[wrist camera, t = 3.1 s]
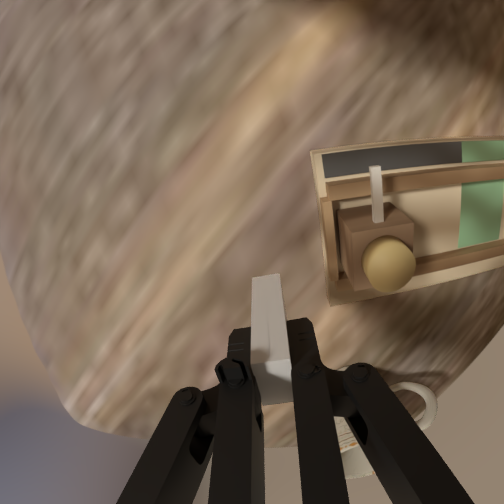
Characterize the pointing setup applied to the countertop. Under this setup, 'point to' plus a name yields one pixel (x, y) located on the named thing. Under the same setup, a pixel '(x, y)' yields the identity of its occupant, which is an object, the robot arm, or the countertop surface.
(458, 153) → the tuner board
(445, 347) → the countertop surface
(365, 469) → the mug
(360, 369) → the robot arm
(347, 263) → the slider knob
